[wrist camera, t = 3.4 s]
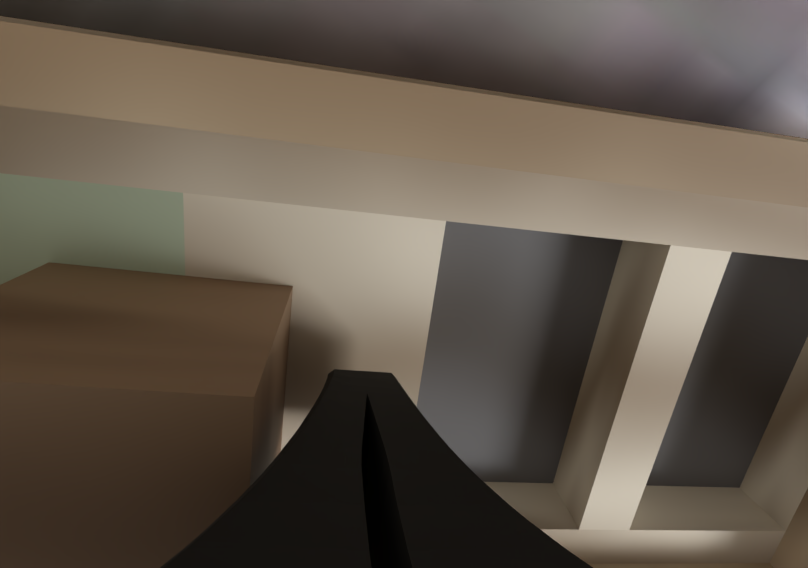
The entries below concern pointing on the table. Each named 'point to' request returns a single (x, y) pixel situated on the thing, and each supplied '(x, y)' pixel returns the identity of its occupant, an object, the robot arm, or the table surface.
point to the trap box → (460, 268)
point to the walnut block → (132, 410)
